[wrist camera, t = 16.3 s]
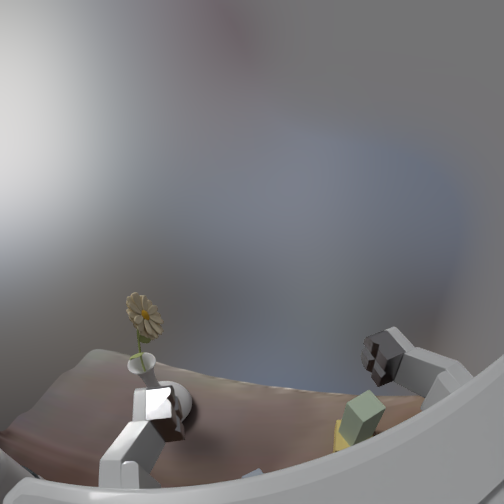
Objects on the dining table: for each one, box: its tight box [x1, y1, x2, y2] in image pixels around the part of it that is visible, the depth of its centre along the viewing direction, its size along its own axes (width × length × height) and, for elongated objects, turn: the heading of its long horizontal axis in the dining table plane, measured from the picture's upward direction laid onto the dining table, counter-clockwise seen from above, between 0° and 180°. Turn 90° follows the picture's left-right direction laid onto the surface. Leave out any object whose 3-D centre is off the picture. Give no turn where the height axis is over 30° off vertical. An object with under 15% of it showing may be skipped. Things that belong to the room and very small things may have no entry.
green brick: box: [338, 390, 386, 446], centre depth 35 cm, size 4×4×9 cm
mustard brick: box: [333, 420, 373, 453], centre depth 38 cm, size 6×6×4 cm
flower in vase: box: [126, 292, 192, 422], centre depth 44 cm, size 13×11×25 cm
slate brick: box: [242, 468, 263, 478], centre depth 32 cm, size 6×3×3 cm, turn 30°
